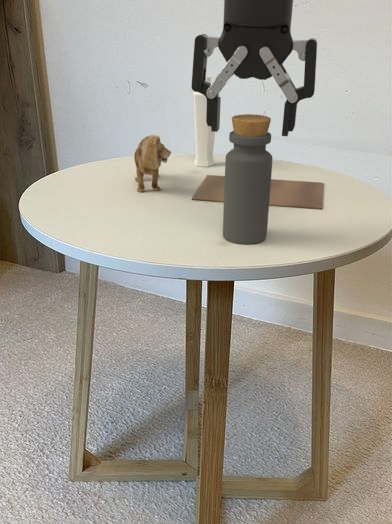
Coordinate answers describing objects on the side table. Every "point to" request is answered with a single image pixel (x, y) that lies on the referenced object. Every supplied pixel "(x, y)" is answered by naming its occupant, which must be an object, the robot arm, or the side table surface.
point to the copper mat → (280, 192)
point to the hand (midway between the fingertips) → (250, 132)
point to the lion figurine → (150, 160)
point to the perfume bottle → (203, 131)
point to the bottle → (247, 180)
